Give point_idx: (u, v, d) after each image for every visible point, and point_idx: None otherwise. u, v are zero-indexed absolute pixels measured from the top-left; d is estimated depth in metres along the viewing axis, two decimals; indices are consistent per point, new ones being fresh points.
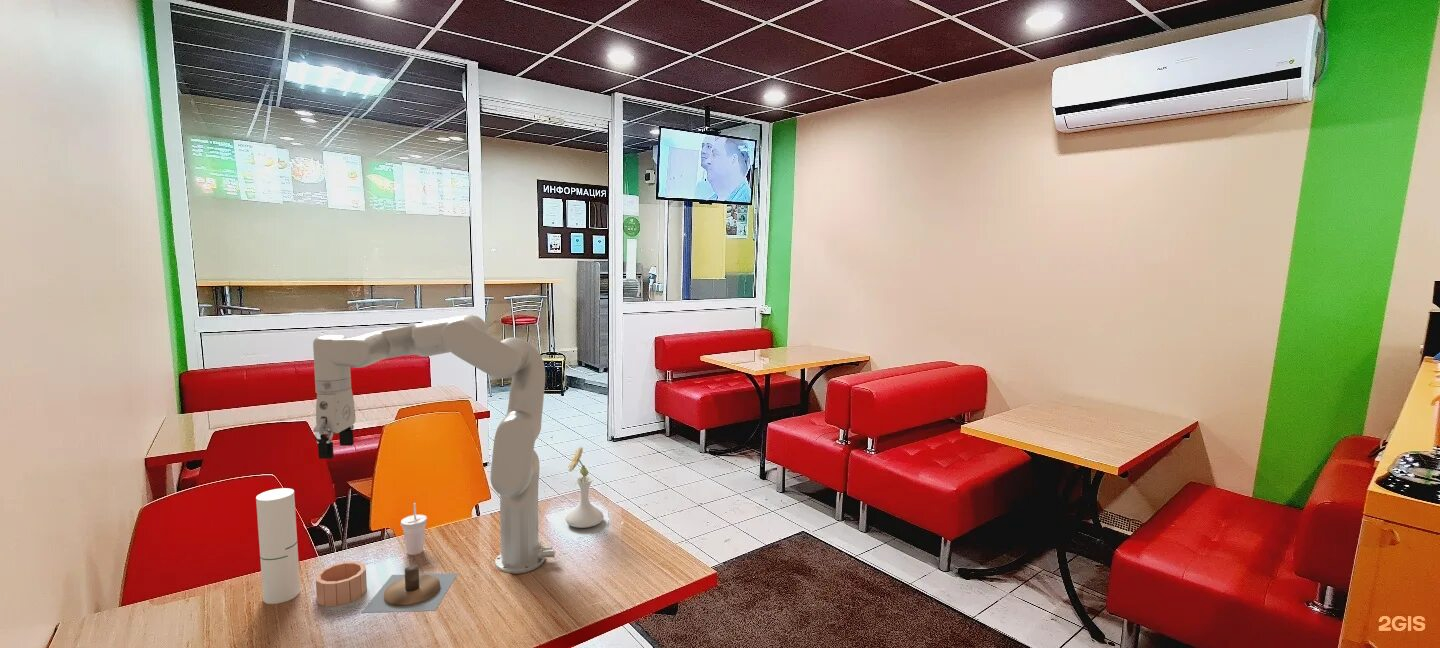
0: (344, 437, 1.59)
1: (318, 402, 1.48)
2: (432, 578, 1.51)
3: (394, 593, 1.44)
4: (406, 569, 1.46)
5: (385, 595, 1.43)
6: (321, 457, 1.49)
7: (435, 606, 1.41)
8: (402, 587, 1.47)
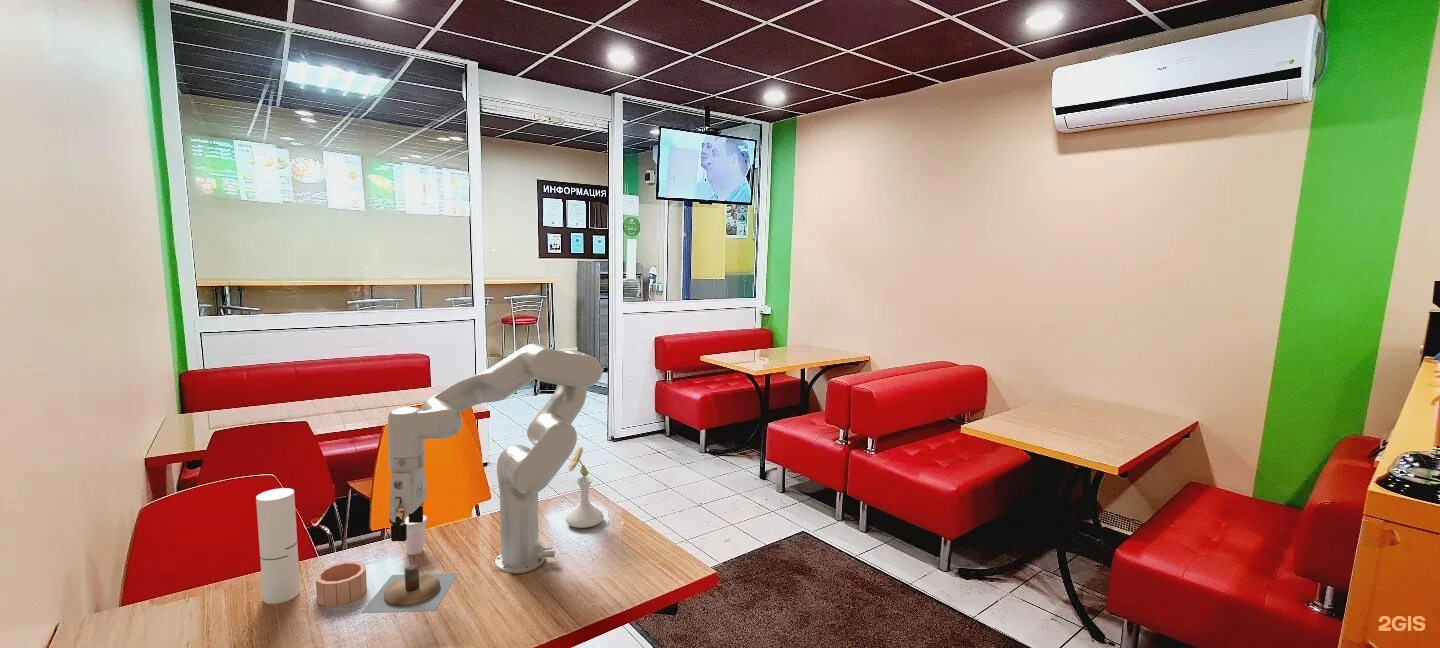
0: (414, 514, 1.49)
1: (392, 481, 1.39)
2: (432, 578, 1.51)
3: (394, 593, 1.44)
4: (406, 569, 1.46)
5: (385, 595, 1.43)
6: (394, 540, 1.40)
7: (435, 606, 1.41)
8: (402, 587, 1.47)
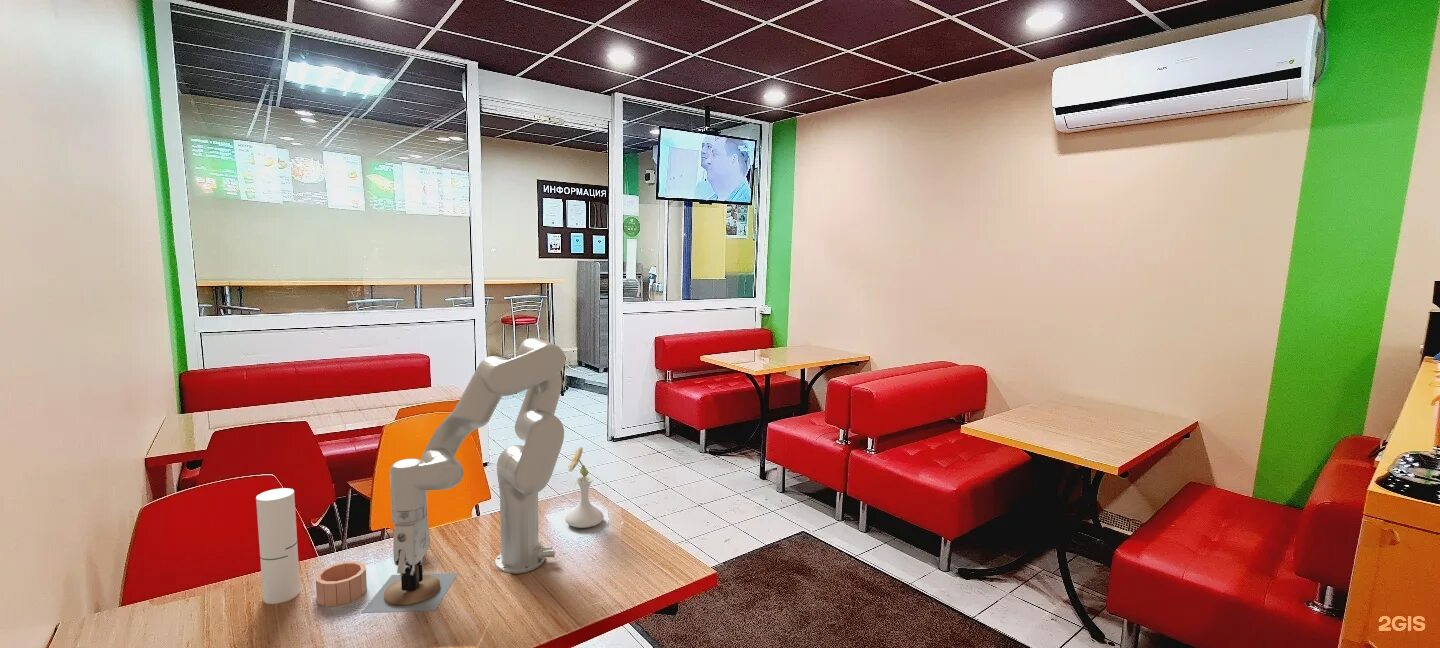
0: None
1: (396, 534, 1.40)
2: (432, 578, 1.51)
3: (394, 593, 1.44)
4: None
5: (385, 595, 1.43)
6: (404, 589, 1.45)
7: (435, 606, 1.41)
8: None
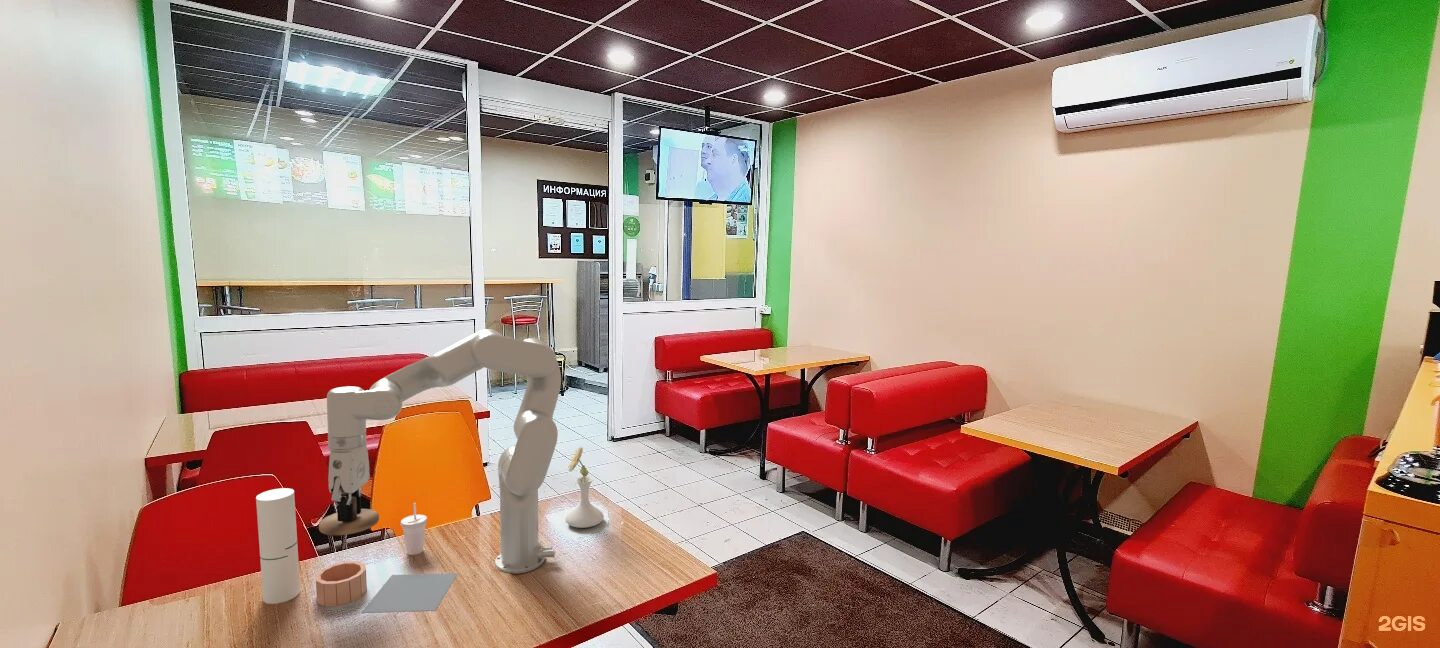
0: None
1: (331, 461, 1.37)
2: (371, 512, 1.47)
3: (329, 524, 1.41)
4: None
5: (320, 525, 1.40)
6: (340, 520, 1.41)
7: (435, 606, 1.41)
8: None
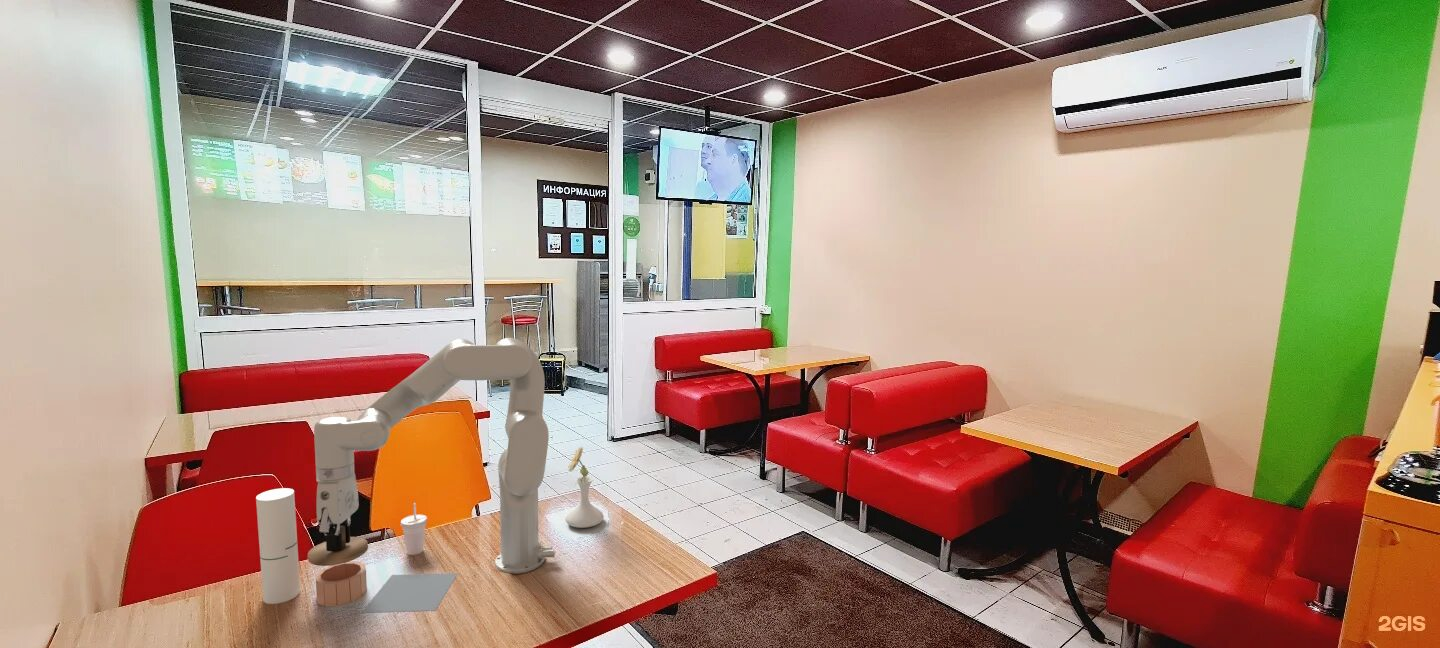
0: None
1: (319, 492, 1.37)
2: (360, 540, 1.48)
3: (318, 553, 1.41)
4: None
5: (309, 555, 1.40)
6: (329, 549, 1.42)
7: (435, 606, 1.41)
8: None
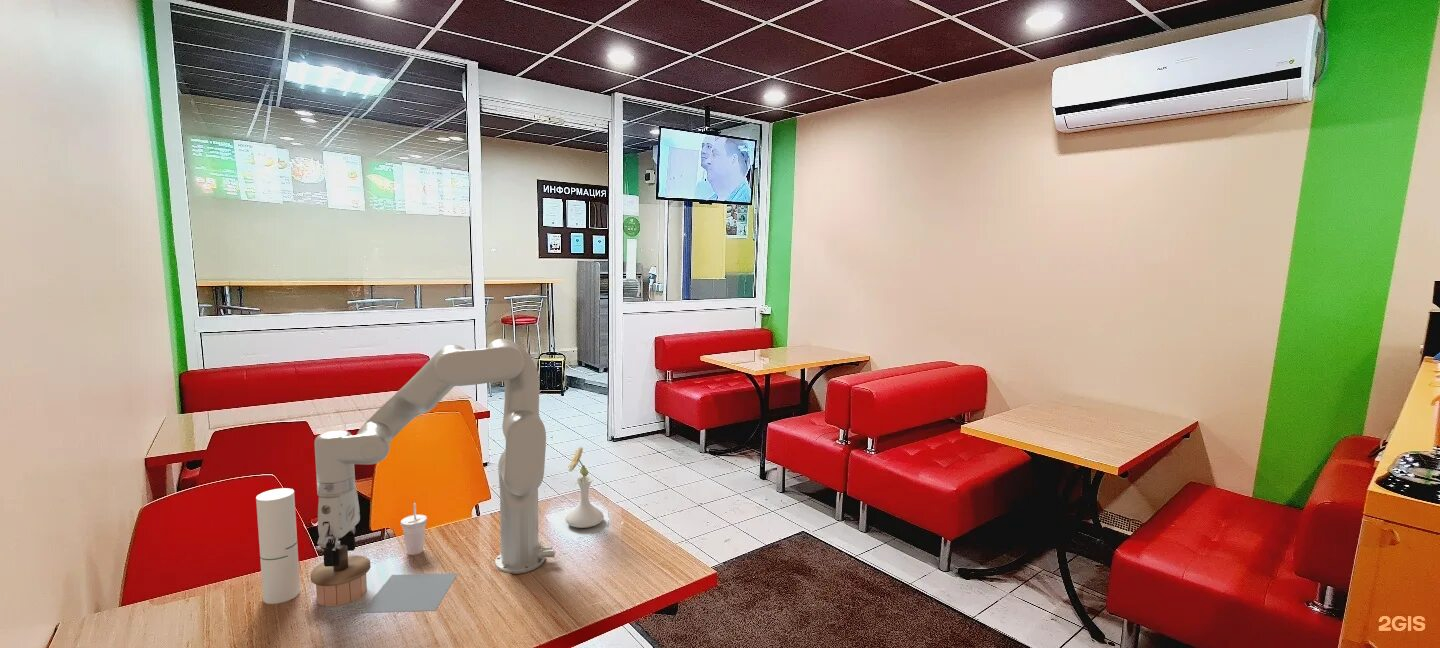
0: (345, 542, 1.47)
1: (320, 506, 1.38)
2: (363, 559, 1.49)
3: (321, 573, 1.42)
4: None
5: (312, 575, 1.41)
6: (327, 565, 1.40)
7: (435, 606, 1.41)
8: (331, 567, 1.45)
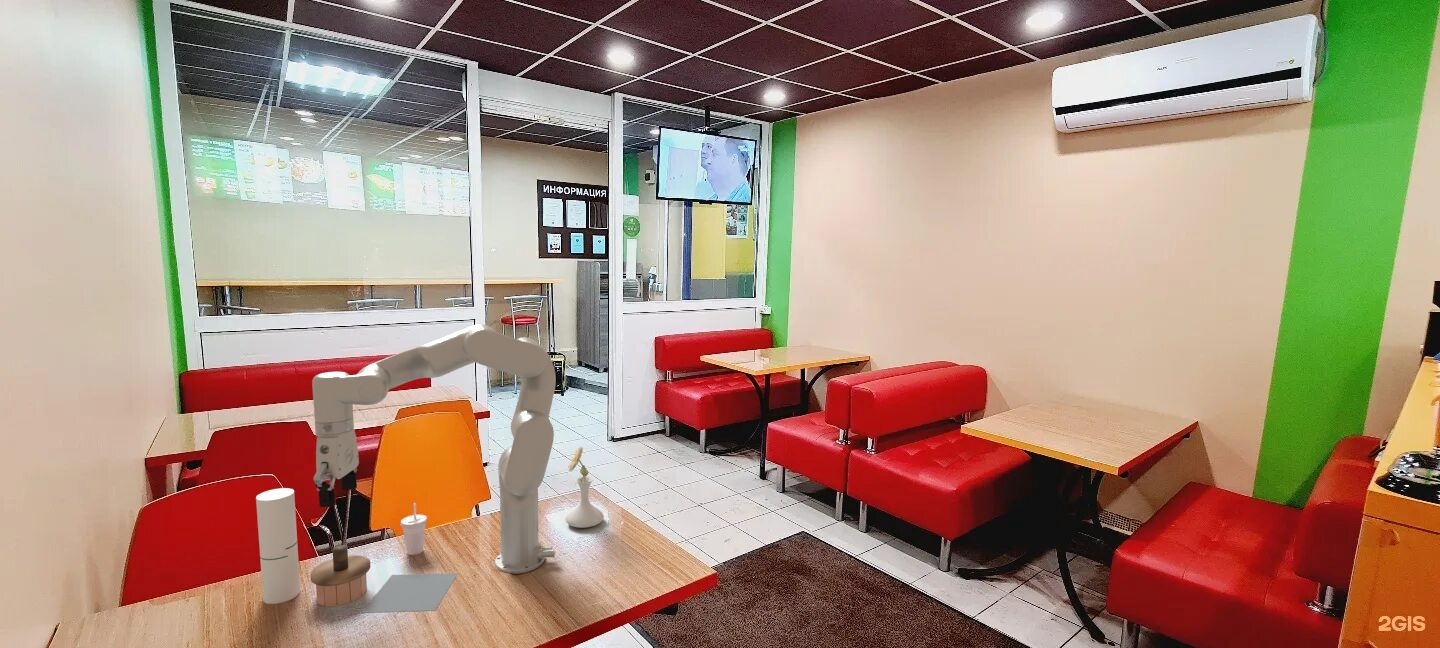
0: (346, 481, 1.47)
1: (318, 446, 1.36)
2: (363, 559, 1.49)
3: (321, 573, 1.42)
4: (334, 549, 1.43)
5: (312, 575, 1.41)
6: (322, 505, 1.38)
7: (435, 606, 1.41)
8: (331, 567, 1.45)
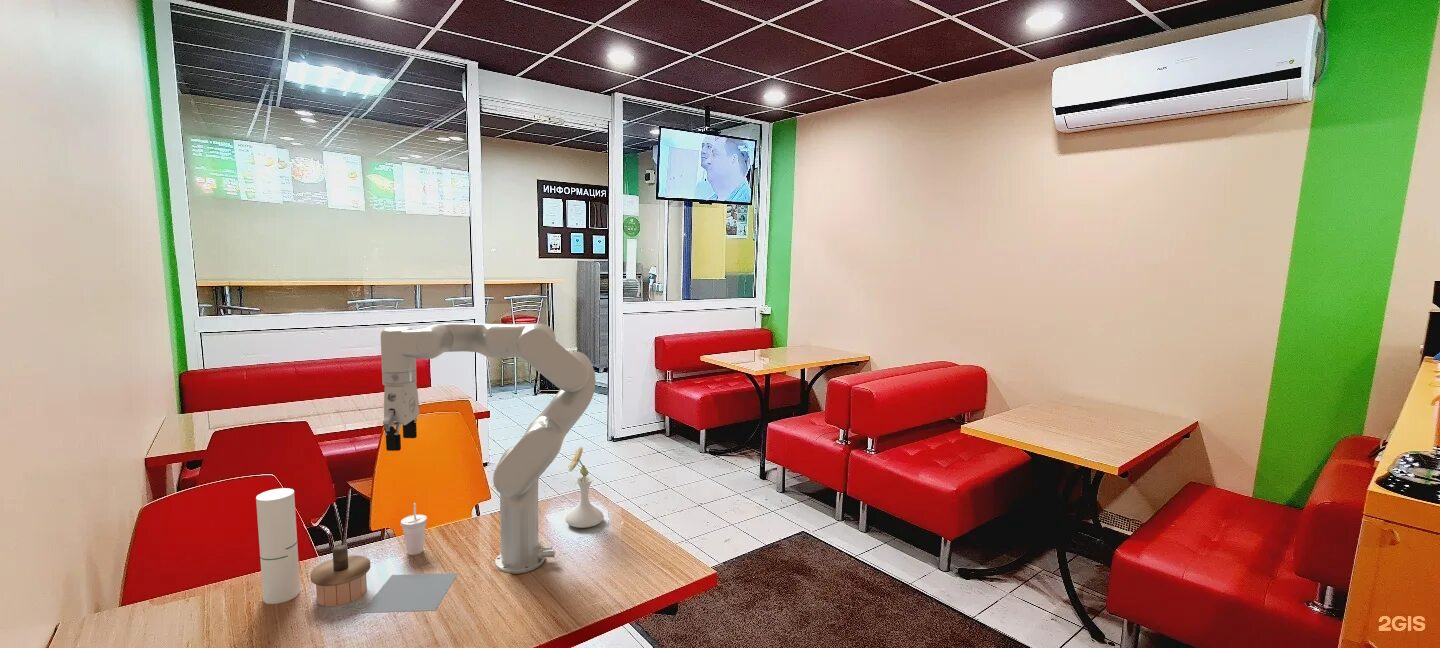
0: (408, 430, 1.58)
1: (386, 394, 1.48)
2: (363, 559, 1.49)
3: (321, 573, 1.42)
4: (334, 549, 1.43)
5: (312, 575, 1.41)
6: (389, 449, 1.49)
7: (435, 606, 1.41)
8: (331, 567, 1.45)
